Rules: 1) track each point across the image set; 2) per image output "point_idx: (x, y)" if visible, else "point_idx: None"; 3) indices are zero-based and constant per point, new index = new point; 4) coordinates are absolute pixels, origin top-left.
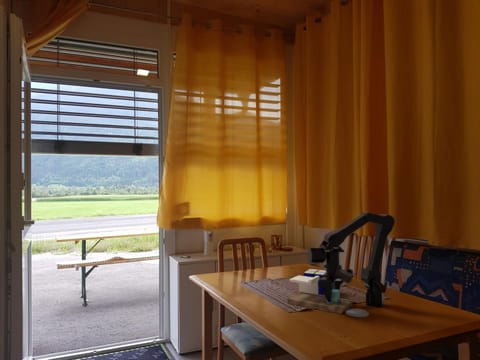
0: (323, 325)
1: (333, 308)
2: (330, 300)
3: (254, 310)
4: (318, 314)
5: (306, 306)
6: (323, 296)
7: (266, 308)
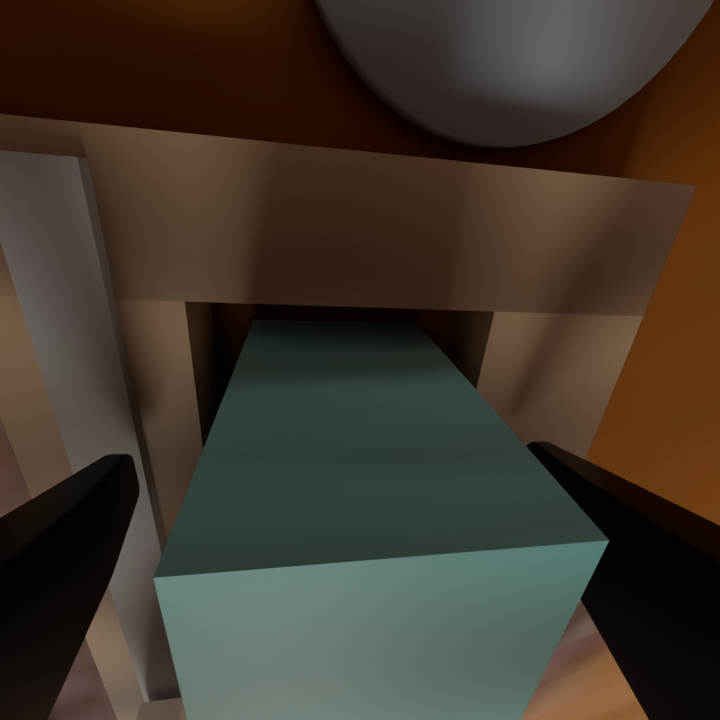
0: None
1: (624, 322)
2: (566, 455)
3: None
4: (682, 418)
5: None
6: None
7: (611, 702)
